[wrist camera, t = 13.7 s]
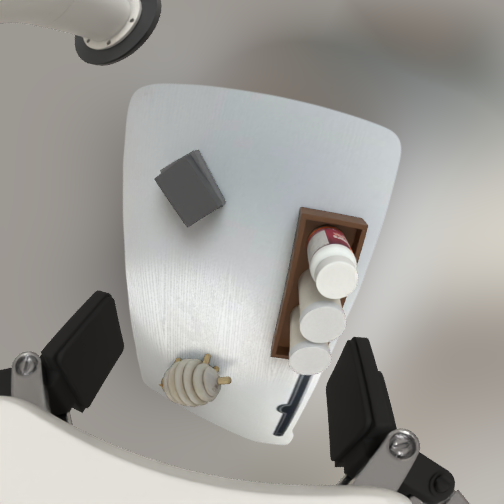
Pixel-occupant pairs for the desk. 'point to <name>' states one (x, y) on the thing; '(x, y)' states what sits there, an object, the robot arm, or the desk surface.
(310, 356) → the white bottle
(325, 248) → the pill bottle
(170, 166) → the grey books
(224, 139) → the desk surface
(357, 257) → the tray
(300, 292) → the white bottle
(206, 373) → the toy sheep
